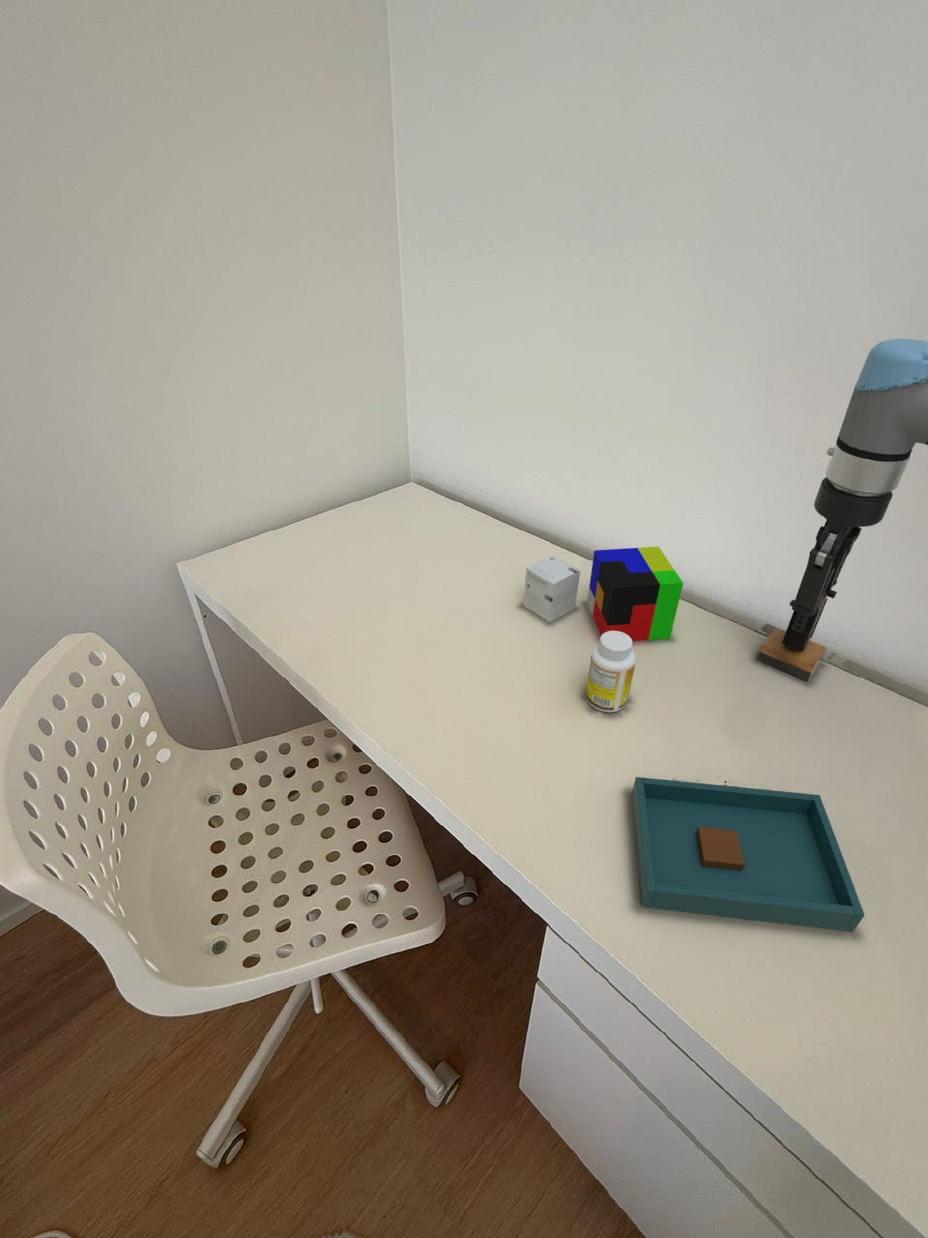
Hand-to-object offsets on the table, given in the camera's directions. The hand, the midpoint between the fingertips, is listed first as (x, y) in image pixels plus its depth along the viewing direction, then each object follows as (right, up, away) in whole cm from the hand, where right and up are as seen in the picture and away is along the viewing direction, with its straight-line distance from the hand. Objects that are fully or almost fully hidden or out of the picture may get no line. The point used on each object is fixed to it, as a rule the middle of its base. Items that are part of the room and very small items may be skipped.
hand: (797, 639), depth 90 cm
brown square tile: (-20, -21, -22) cm, 37 cm away
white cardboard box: (-33, +5, +13) cm, 36 cm away
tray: (-18, -22, -22) cm, 36 cm away
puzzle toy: (-21, +2, +11) cm, 24 cm away
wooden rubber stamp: (0, -3, +2) cm, 4 cm away
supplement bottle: (-27, -8, -3) cm, 29 cm away
